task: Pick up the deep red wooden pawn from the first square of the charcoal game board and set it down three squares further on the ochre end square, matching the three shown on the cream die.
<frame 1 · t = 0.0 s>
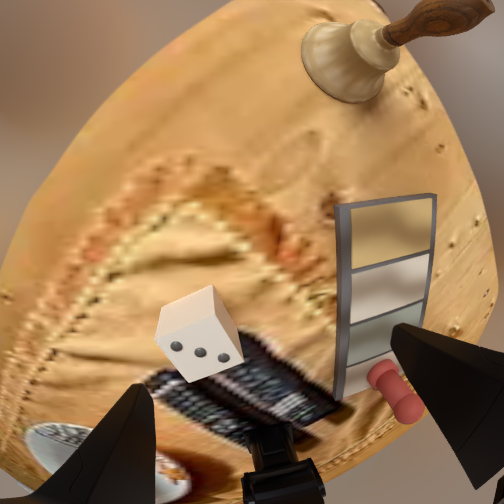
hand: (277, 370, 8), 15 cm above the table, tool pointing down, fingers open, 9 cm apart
board: (384, 307, 27), on the table
hand bell: (343, 61, 19), on the table
pawn: (380, 371, 29), point 1 cm above the table, touching board
die: (199, 317, 24), on the table
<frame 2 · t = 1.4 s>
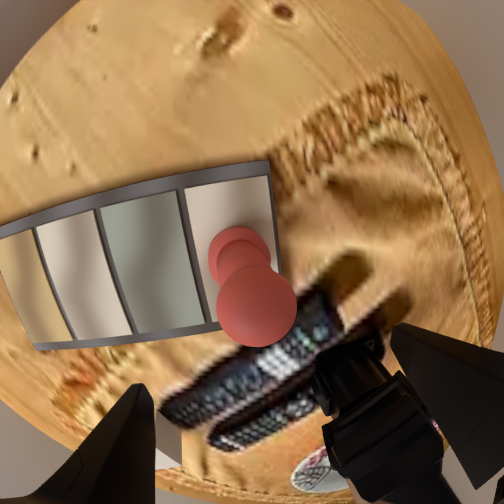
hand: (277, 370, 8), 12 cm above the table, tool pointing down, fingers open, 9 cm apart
board: (119, 270, 19), on the table
pawn: (237, 254, 19), point 1 cm above the table, touching board
die: (151, 425, 25), on the table
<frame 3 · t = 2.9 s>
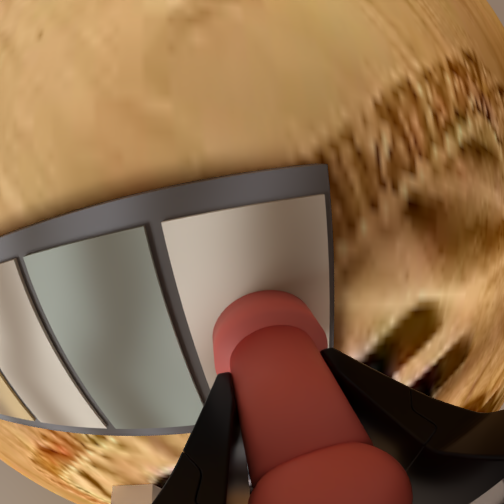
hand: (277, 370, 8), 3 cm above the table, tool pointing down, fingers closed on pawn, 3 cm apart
board: (73, 346, 10), on the table
pawn: (264, 336, 10), point 1 cm above the table, touching board, gripper
die: (148, 493, 17), on the table
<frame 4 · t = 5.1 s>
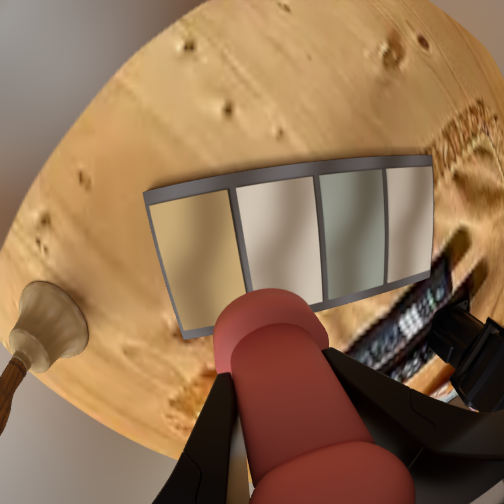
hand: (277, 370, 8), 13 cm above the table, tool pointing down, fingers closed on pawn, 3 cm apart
board: (317, 238, 21), on the table
hand bell: (52, 320, 20), on the table
pawn: (265, 334, 10), point 11 cm above the table, touching gripper
when the fingers open (4 cm above the table, at t = 7.1 s): pawn drops 1 cm, resting on board.
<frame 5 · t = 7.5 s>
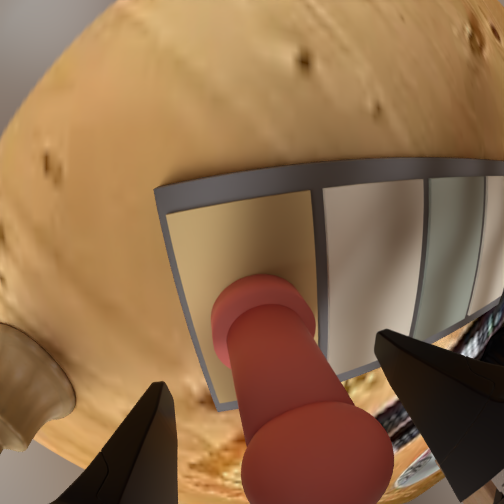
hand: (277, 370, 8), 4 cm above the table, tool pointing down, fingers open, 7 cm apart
board: (409, 266, 14), on the table
hand bell: (25, 372, 12), on the table
pawn: (258, 317, 11), point 1 cm above the table, touching board
wooden block: (458, 437, 31), on the table
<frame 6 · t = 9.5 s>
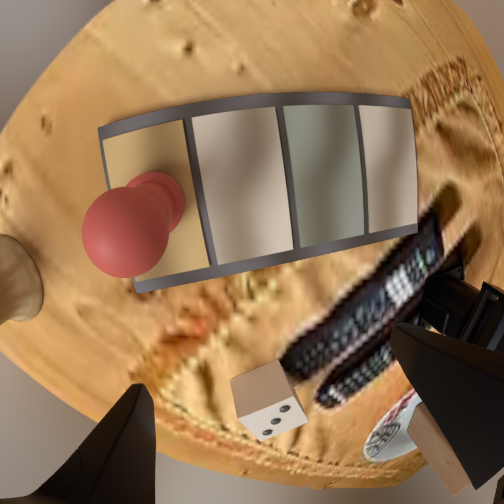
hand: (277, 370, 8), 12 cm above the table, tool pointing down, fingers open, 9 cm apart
board: (284, 177, 19), on the table
hand bell: (10, 278, 17), on the table
pawn: (154, 202, 17), point 1 cm above the table, touching board
wooden block: (429, 406, 38), on the table
die: (263, 383, 25), on the table
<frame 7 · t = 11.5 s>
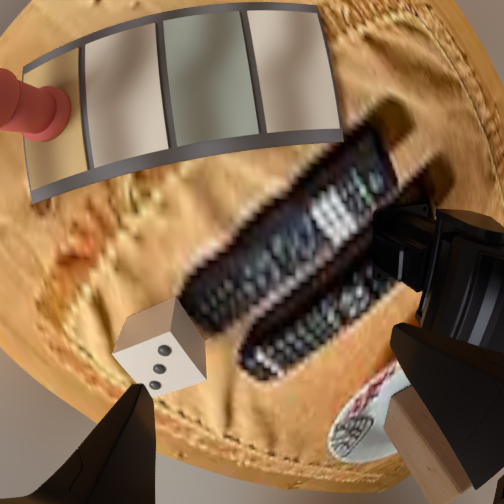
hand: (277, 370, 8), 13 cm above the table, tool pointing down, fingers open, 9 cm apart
board: (166, 83, 16), on the table
pawn: (49, 115, 14), point 1 cm above the table, touching board
wooden block: (410, 399, 34), on the table
die: (165, 329, 22), on the table
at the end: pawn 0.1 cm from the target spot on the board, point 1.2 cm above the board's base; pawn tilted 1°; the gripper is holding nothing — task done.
